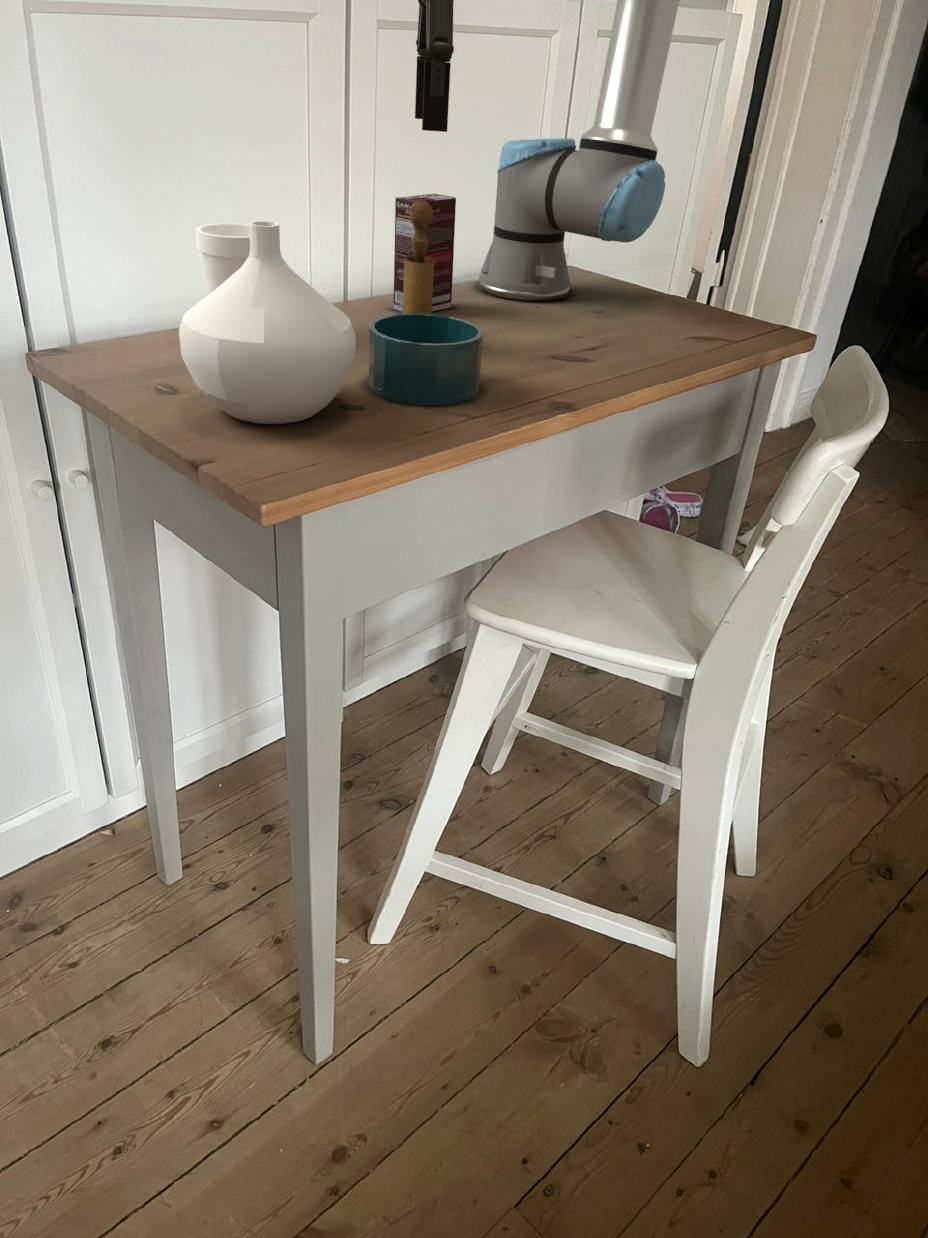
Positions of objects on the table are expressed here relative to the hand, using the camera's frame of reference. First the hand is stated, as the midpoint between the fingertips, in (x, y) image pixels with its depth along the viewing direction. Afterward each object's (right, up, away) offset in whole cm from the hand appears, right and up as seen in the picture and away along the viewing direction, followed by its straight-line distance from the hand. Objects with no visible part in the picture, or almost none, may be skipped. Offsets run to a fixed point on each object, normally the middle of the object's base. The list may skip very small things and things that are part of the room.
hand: (430, 124), depth 109 cm
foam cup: (-26, -18, +19) cm, 37 cm away
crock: (-1, -29, +5) cm, 29 cm away
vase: (-17, -34, -5) cm, 38 cm away
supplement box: (-3, -10, +36) cm, 37 cm away
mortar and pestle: (-3, -20, +20) cm, 28 cm away
